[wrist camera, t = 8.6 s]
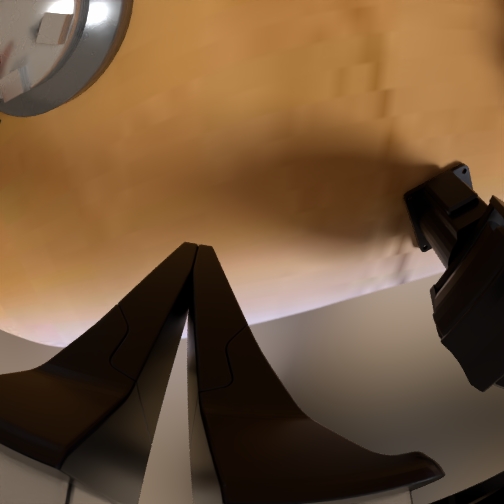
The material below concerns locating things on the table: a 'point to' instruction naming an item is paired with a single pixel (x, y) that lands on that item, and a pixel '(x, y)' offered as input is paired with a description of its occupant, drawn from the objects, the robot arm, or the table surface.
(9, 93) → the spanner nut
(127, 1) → the flange base
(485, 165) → the table surface
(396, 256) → the table surface
